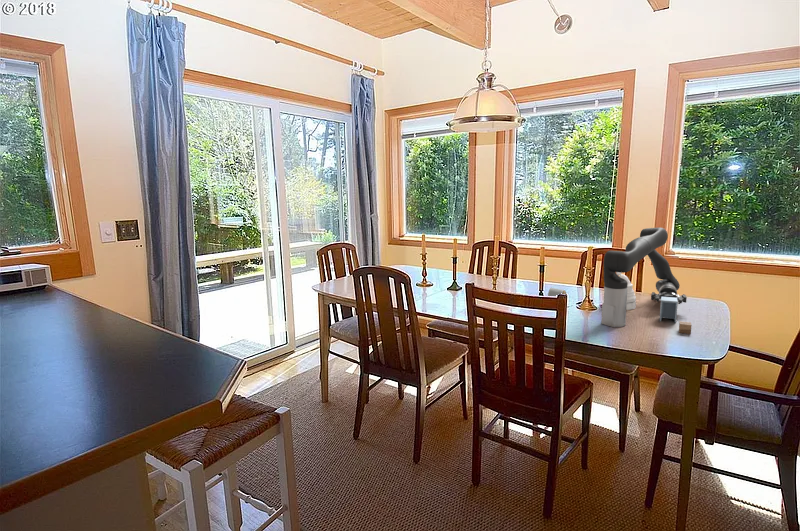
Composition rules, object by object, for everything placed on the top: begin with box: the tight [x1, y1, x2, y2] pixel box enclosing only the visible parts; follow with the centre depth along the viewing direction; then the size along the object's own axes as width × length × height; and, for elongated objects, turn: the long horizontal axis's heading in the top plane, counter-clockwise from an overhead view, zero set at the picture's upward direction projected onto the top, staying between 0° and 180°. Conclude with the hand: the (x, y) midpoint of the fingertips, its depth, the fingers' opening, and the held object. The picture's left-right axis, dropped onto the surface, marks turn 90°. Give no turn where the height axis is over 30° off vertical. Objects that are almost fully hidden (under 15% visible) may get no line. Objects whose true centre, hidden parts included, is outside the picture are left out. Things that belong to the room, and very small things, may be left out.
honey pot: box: [615, 272, 637, 311], centre depth 217 cm, size 13×13×18 cm
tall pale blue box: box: [659, 297, 679, 324], centre depth 193 cm, size 7×6×10 cm
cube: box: [678, 320, 692, 335], centre depth 178 cm, size 4×4×4 cm
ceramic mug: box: [547, 287, 567, 297], centre depth 232 cm, size 11×8×8 cm
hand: (668, 301), depth 197 cm, fingers open, 8 cm apart
